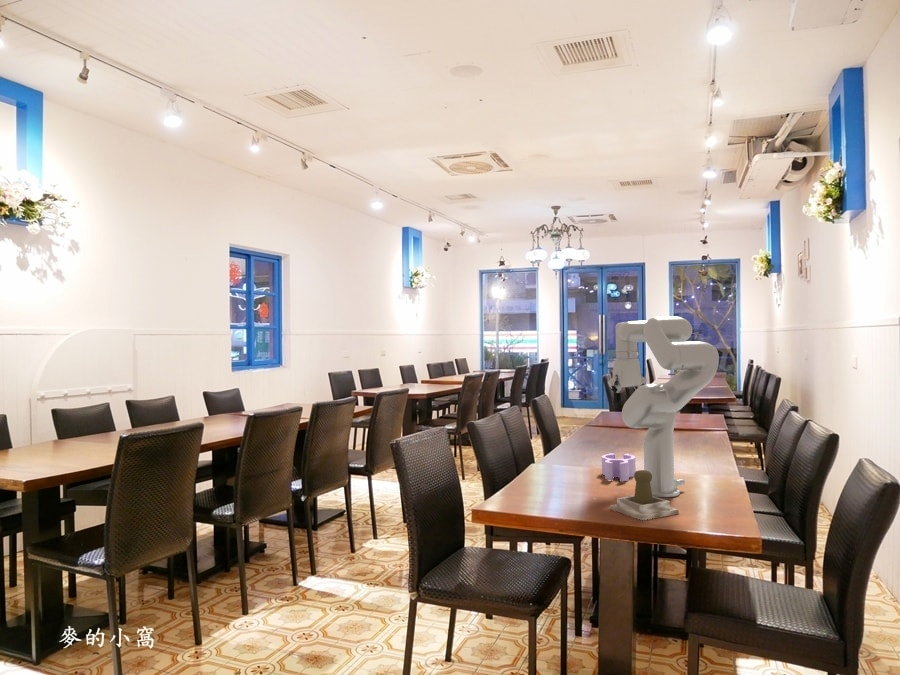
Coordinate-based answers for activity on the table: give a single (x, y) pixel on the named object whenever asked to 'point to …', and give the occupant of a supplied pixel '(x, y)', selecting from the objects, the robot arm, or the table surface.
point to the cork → (643, 487)
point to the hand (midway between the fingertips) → (627, 402)
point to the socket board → (644, 508)
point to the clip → (618, 467)
